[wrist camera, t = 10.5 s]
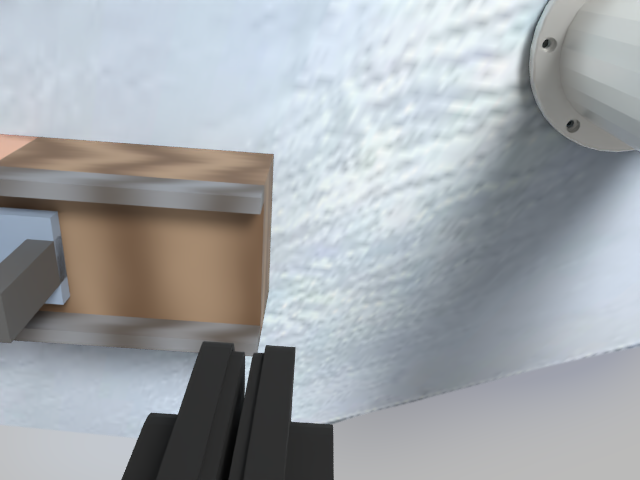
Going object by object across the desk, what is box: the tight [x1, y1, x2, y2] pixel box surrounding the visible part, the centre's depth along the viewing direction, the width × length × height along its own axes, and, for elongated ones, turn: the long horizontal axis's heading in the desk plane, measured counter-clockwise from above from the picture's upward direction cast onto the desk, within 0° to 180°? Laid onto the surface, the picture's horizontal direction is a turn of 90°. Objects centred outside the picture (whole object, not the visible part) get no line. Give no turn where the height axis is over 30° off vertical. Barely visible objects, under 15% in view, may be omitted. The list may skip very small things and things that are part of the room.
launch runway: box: [0, 137, 274, 356], centre depth 37 cm, size 16×11×8 cm
